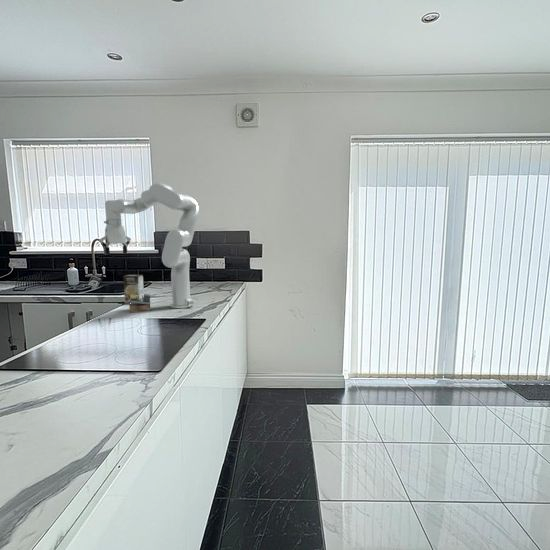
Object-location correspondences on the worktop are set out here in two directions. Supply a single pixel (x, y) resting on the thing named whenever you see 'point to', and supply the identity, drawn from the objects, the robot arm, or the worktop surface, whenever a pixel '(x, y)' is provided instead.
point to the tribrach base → (139, 307)
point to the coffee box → (133, 286)
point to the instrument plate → (136, 299)
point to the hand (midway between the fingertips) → (116, 253)
